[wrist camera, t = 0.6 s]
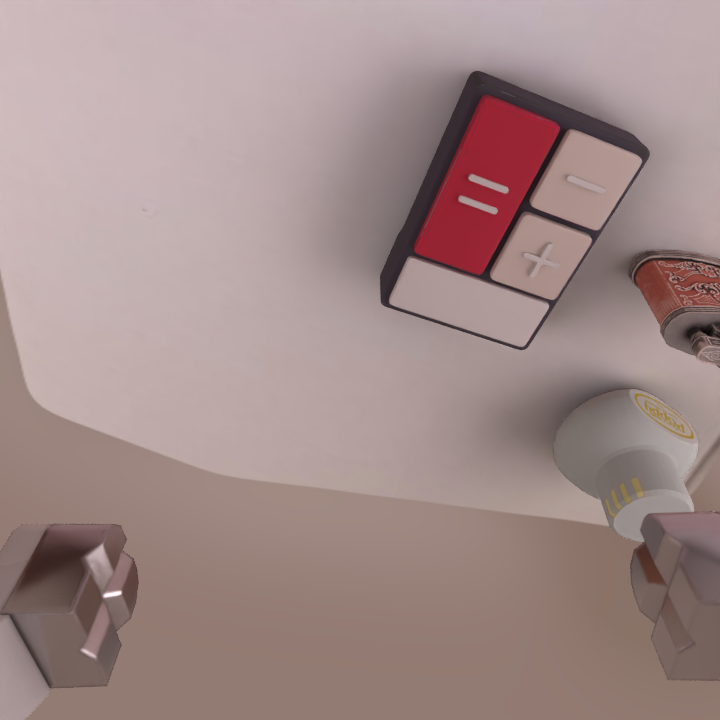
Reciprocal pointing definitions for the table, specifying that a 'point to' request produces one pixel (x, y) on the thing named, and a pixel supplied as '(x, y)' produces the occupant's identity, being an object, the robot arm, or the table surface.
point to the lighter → (682, 299)
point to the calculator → (507, 212)
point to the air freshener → (628, 456)
